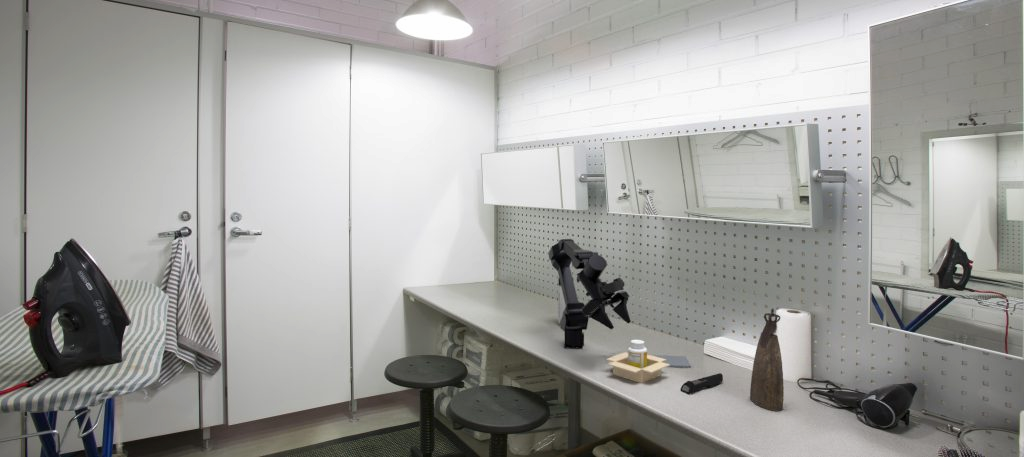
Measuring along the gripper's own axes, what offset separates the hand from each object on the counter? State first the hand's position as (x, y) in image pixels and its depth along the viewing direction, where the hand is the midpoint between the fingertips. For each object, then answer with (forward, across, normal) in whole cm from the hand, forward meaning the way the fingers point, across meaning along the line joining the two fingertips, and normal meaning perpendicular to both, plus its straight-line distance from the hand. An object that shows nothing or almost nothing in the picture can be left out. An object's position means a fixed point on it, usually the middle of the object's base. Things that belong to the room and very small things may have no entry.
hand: (621, 325), depth 164 cm
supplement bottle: (+15, -2, +4) cm, 15 cm away
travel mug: (-21, +29, +44) cm, 56 cm away
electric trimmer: (+28, +2, -9) cm, 29 cm away
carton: (+15, -2, +4) cm, 15 cm away
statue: (+39, +2, -22) cm, 45 cm away
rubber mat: (+16, +15, +3) cm, 22 cm away
